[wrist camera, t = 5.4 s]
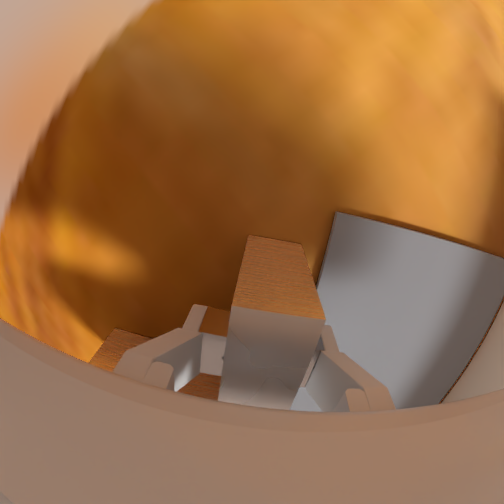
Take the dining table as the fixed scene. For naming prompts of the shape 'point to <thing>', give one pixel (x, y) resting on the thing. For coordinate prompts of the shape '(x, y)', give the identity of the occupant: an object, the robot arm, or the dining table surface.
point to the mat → (405, 306)
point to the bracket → (255, 330)
